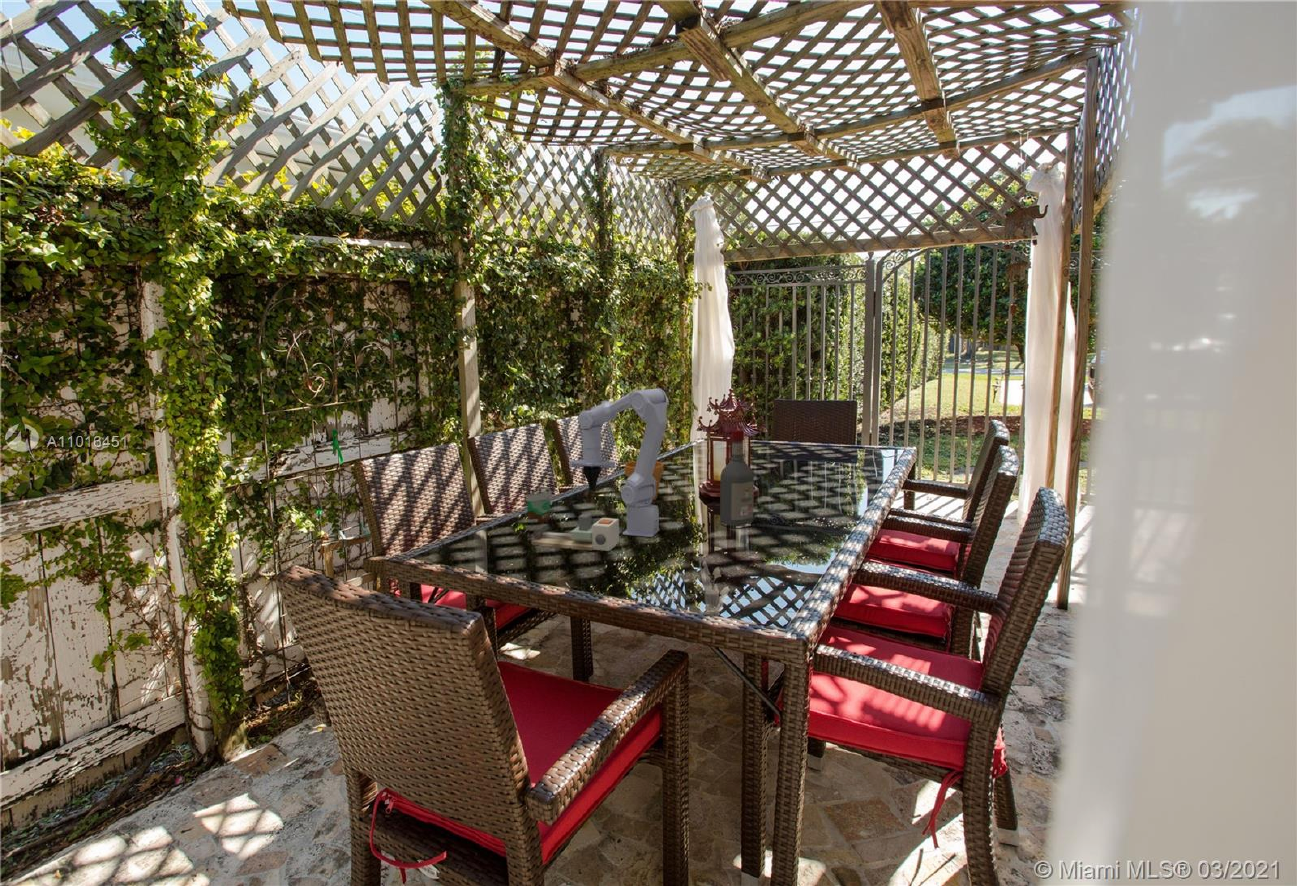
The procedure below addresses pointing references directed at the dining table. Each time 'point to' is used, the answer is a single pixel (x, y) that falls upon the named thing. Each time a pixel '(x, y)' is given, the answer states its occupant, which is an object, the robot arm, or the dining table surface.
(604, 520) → the button
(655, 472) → the flower pot
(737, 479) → the liquor
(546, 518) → the food container
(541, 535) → the rail bed
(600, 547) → the end cabinet
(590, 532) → the carriage
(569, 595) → the dining table surface
